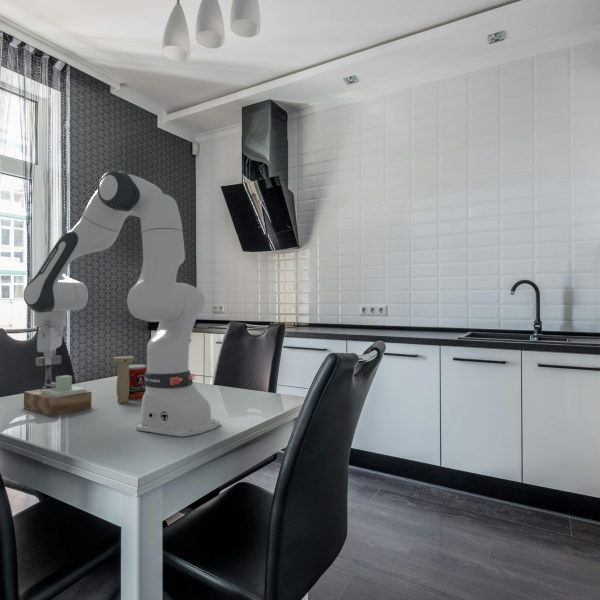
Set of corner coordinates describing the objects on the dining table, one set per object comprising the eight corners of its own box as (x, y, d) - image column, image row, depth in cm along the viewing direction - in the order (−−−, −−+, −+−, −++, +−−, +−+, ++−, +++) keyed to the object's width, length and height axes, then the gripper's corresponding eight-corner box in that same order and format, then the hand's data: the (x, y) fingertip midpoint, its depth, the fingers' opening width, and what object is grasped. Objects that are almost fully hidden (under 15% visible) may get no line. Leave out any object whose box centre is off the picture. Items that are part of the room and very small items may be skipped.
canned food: (130, 400, 141) (130, 368, 141) (117, 397, 146) (118, 366, 146) (150, 396, 147) (150, 365, 147) (137, 393, 152) (138, 363, 152)
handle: (110, 402, 139) (111, 357, 139) (130, 399, 142) (131, 355, 143) (114, 405, 135) (115, 358, 135) (135, 402, 139) (135, 357, 139)
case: (91, 407, 131) (91, 391, 131) (51, 416, 121) (51, 398, 121) (63, 400, 140) (63, 385, 140) (23, 407, 130) (24, 391, 130)
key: (69, 389, 133) (70, 357, 134) (46, 393, 128) (47, 359, 128) (56, 386, 138) (57, 355, 138) (34, 390, 132) (34, 357, 132)
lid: (85, 392, 130) (86, 375, 130) (56, 397, 123) (56, 379, 123) (70, 389, 135) (70, 373, 135) (40, 393, 128) (41, 376, 128)
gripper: (55, 321, 126) (55, 367, 126) (66, 319, 145) (65, 359, 145) (31, 322, 124) (30, 368, 124) (45, 319, 143) (45, 360, 143)
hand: (49, 363), depth 135 cm, fingers closed on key, 3 cm apart
